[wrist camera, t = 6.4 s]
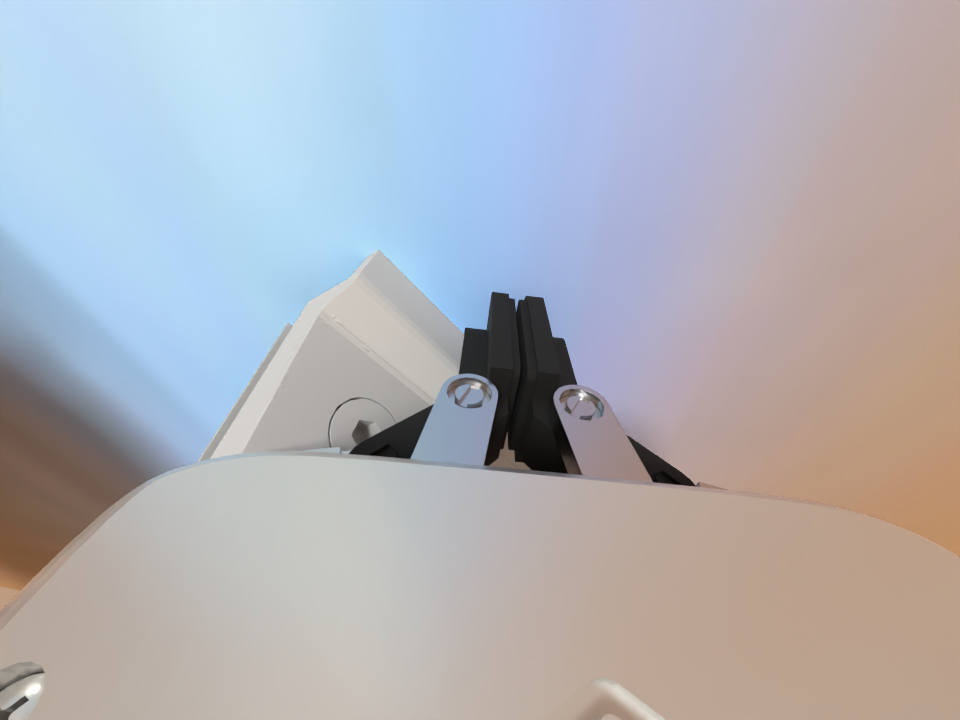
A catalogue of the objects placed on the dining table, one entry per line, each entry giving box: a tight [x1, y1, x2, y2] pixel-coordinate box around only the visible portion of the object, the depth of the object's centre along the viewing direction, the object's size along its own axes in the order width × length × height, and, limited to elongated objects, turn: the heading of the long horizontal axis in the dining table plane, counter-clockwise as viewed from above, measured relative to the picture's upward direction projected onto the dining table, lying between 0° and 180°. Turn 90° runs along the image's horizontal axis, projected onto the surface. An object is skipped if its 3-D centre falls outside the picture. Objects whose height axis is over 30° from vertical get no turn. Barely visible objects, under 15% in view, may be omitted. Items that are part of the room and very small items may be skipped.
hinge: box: [198, 250, 530, 470], centre depth 12 cm, size 17×5×10 cm, turn 40°
